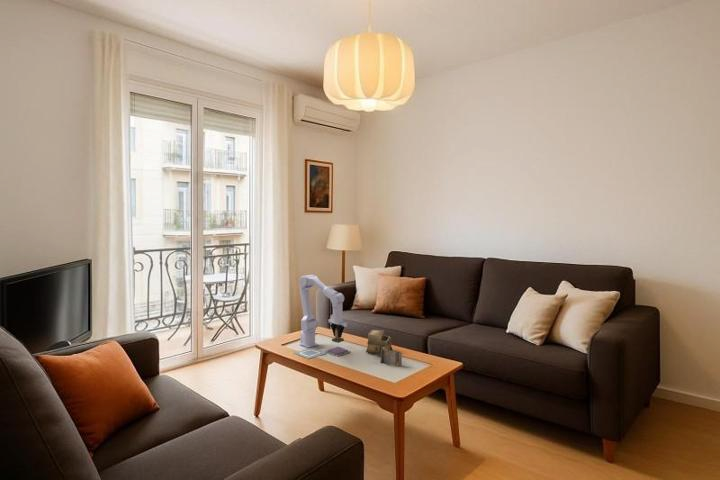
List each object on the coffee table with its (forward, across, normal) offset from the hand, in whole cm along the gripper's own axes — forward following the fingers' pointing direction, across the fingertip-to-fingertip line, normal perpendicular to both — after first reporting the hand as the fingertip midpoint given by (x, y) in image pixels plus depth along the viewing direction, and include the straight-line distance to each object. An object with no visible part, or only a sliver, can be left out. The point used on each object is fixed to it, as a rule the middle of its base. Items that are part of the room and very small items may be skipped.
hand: (337, 336), depth 250 cm
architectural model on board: (+10, -35, -8) cm, 37 cm away
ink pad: (+10, 0, 0) cm, 10 cm away
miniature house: (+10, -17, -18) cm, 26 cm away
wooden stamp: (+3, 0, 0) cm, 3 cm away
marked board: (+10, +10, +13) cm, 19 cm away
